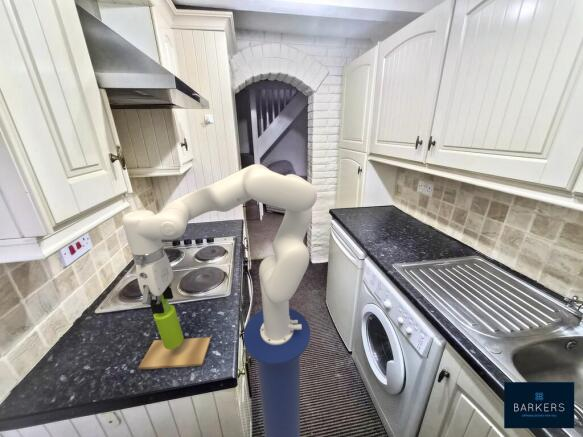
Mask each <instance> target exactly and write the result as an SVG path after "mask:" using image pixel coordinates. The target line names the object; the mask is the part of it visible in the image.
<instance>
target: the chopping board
mask: <svg viewBox="0 0 583 437" xmlns="http://www.w3.org/2000/svg"><path fill="white" fill-rule="evenodd" d="M211 340H212V337H210V336H208V337H190V338H183V341H182V343H181V344H180V345H179V346H178V347H176V348H174V349H166V348H165V347H164V345H163V342H162V339H155V340H153V342H152V343H151V345H150V347H148V348H149V349H148V350H147V352H146V353H145V355H144V357H143V359H142V360H141V362H140V363H139V366H138V370H154V369H169V368H186V367H187V368H189V367H202V366H203V365H204V362H205V359H206V356H207V352H208V350H209V346H210V343H211Z"/></svg>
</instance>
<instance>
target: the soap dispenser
mask: <svg viewBox="0 0 583 437" xmlns="http://www.w3.org/2000/svg"><path fill="white" fill-rule="evenodd" d="M154 297H155V298H156V296H154ZM163 297H164V296H163V293H162V294H161V295H160V301H162V304H163V307H164V313H161V314H153V318H154V322H155V324H156V328H157V330H158V333H159V336H160V340H162V342H163V345H164V347H165V348H166V349H174V348H176V347H178V346H179V345H180V344H181V343H182V341H183V339H184V334H183V330H182V327H181V324H180V321H179V320H180V319H179V316H178V314H177V310H176V307H175V305H174V304H170V303H169V301H168V300H169V299H164V298H163Z"/></svg>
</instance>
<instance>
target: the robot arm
mask: <svg viewBox="0 0 583 437" xmlns="http://www.w3.org/2000/svg"><path fill="white" fill-rule="evenodd" d="M317 196H318V194H317V190H316V188H315V187H314V185H313V184H312V183H311V182H309V181H307V179H304V178H303V177H301V176H300V175H296V174H294V173H290V174H289V173H288V174H286V175H284V174H281V173H278V172H275V171H273V170H270V168H268V167H267V166H265V165H263V164H260V163H255V164H250V165H248V166H246V167H244V168H242V169H239V170H238V171H236V172H234V173H232V174H231V175H230V174H229V175H228V176H226V177H224V178H222V179H220V180H218V181H216V182H214V183H211V184H209V185H206V186H204V187H201V188H198V189H195V190H193V191H191V192H189V193H186V194H184V195H183V196H180V197H178V198H176V199H174V200H172V201H170V202H169V203H167V204H166V205H165V206H164V207H163V209H162V210H160V212H158V213H156V214H155V213H154V212H153V211H152V210H150V209H139V210H133V211H130V212H127V213H126V214H124V215H123V217H122V218H121V223H122V227H123V230H124V233H125V237H126V240H127V243H128V247H129V250H130V253H131V255H132V259H133V262H134V264H135V271H136V272H135V274H136V278H137V283H138V287H139V291H140V293H141V295H142V301H141V304H142V305H148V306H150V309H151V313H152V314H153V315H154V314H161V313H164V307H163V304H162V301H160V295H161V294H162V293H163V296H164V297H163V298H164V299H167V300H173V299H174V294H173V290H172V283H171V282H172V281H173V279H174V276H175V275H174V271H173V268H172V264H171V262H170V259H169V256H168V254H167V253H166V251H165V248H164V247H165V246H164V243H163V241H165V240H167V241H169V240H170V241H171V240H176V239H179V238H180V237H182V236H184V234H185V232H186V229H187V227H188V224H189V222H190V221H191V220H193V219H195V218H198V217H199V216H202V215H205V214H206V213H209V212H221V213H225V212H229V211H231V210H233V209H235V208H237V207H238V206H241V205H243V204H245V203H246V202H249V201H251V200H254V201H256V202H257V203H261V204H264V205H268V206H272V207H277V208H280V209H284V210H285V212H284V215H283V219H282V221H281V224H280V226H279V228H278V230H277V233H276V235H275V237H274V239H273V242H272V251H273V253H274V255H268V256H267V257H265V258H264V259H263V260H262V261H261V262H260V264H259V268H258V276H259V283H260V292H261V302H262V303H261V304H262V305H261V306H262V311H263V318H264V323H263V324H262V326H261V329H260V333H261V337H262V339H263V340H264V341H265V342H266V343H268V344H270V345H281V344H284V343H286V342H287V341H289V340H290V339H291V337H292V335H293V331H294V330H302V326H301V324H298V320H290V316H289V308H290V300H291V299H292V297H293V296H294V295H295V293H296V291H297V289H298V288H299V285H300V283H301V282H302V279H303V277H304V275H305V273H306V271H307V269H308V267H309V263H310V252H309V249H308V247H307V246H306V245H305V243H304V239H305V236H306V234H307V231H308V229H309V226H310V224H311V222H312V218H313V207H314V206H315V204H316V202H317ZM155 296H156V297H155ZM153 297H155V299H154V298H153ZM293 324H297V325H293Z"/></svg>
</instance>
